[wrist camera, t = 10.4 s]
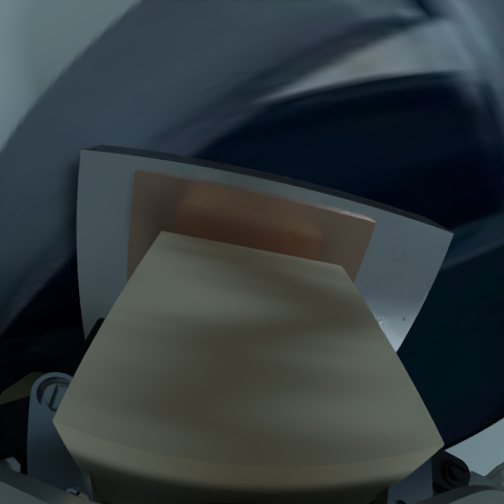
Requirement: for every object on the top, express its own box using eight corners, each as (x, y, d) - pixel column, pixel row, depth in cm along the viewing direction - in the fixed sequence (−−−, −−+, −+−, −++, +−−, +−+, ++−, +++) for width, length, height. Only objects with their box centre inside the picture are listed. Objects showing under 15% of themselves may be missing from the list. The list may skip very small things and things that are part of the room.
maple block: (341, 265, 10) (445, 446, 3) (290, 385, 12) (315, 534, 6) (161, 230, 9) (50, 424, 3) (152, 364, 11) (114, 518, 5)
